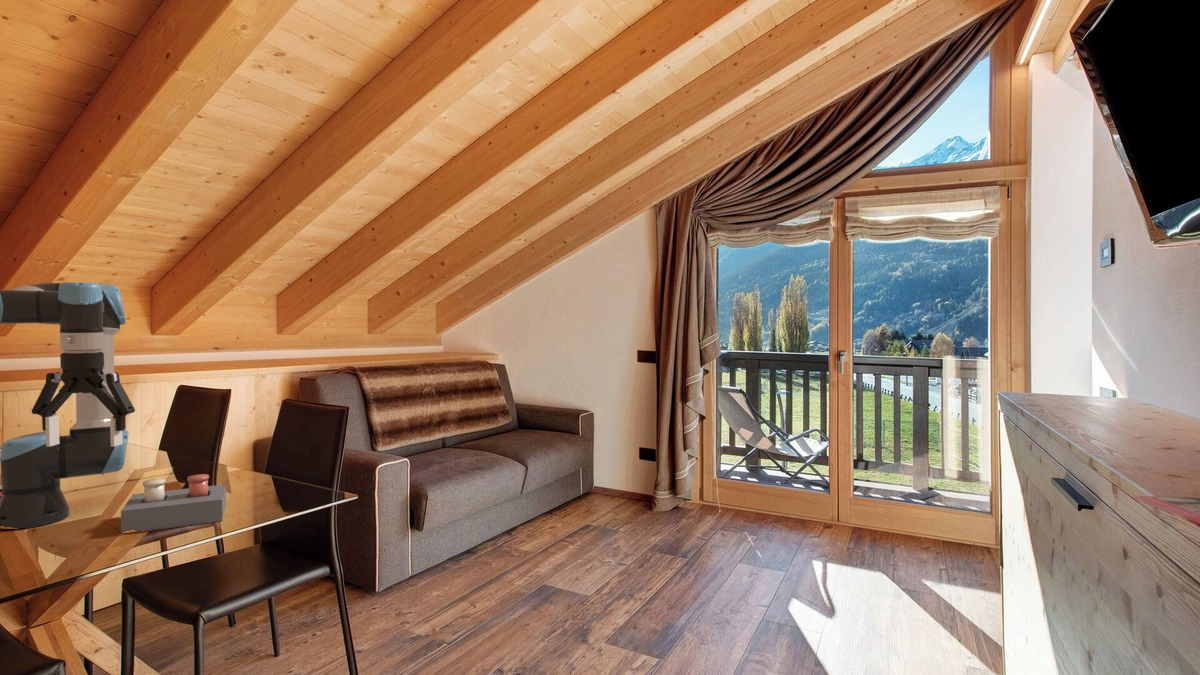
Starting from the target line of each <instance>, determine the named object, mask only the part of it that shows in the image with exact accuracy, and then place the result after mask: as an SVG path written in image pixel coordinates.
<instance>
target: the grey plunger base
mask: <svg viewBox="0 0 1200 675" xmlns="http://www.w3.org/2000/svg"><path fill="white" fill-rule="evenodd" d="M164 492H165V501H158V502H149V503H145V498H144V492H143V493H133V494H132V495H131V496H130V497H129V499H128V500H127V502H126V503H125V504H124V506H123V508H122V509H121V510H120V533H123V532H126V531H130V530H135V531H137V532H136V533H140V532H139V531H142V530H149V531H148V532H150V531H157V530H158V531H159V530H165V529H166V530H167V529H172V528H182V527H187V526H195V525H196V526H197V525H204V524H205V525H206V524H211V523H220V522H223V520H224V516H225V510H226V505H227V499H226V496H227V495H226V494H227V493H226V492H227V489H226V484H217V485H208V496H203V497H194V498H189V488H188V489H182V488H181V489H171V490H164Z"/></svg>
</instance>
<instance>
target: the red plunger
mask: <svg viewBox="0 0 1200 675" xmlns="http://www.w3.org/2000/svg"><path fill="white" fill-rule="evenodd" d="M187 480H188V482H189V498H194V497H203V496H208V486H209V485H208V480H210V475H209V474H206V473H205V474H204V473H202V474H193V475H189V476H187Z"/></svg>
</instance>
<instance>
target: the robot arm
mask: <svg viewBox="0 0 1200 675" xmlns="http://www.w3.org/2000/svg"><path fill="white" fill-rule="evenodd" d="M126 323H127V321H126V314H125V308H124V302H123V298H122V293H121V290H120V288H119V287H118V286H117V285H114V284H105V283H99V282H98V283H97V282H79V281H78V282H77V281H76V282H75V281H63V282H43V283H42V282H41V283H35V284H28V285H22V286H17V287H15V288H13V289H0V324H1V325H3V324H5V325H8V324H9V325H10V324H11V325H12V324H14V325H15V324H45V325H59V348H60V350H61V351H63V352H61V353H60V354H59V359H60V362H59V363H60V369H61V370H62V373H61V372H59V371H56V372H48V373H46V374H45V375H46V376H45V383H44V386H43V387H42V389H41V391H40V393H39V395H38V398H37V399H36V401H35V402H34V405H33V407H32V409H31V414H32V415H39V416H40V417H41V419H42V420H41V424H42V426H41V427H42V428H41V429H42V430H43V431H39V432H33V433H27V434H24V435H19V436H15V437H12V438H10V439H7V440H6V441H4V442H3V443H2V444H1V445H0V474H1V476H0V477H1V479H0V480H1V497H0V526H4V527H11V528H12V527H13V528H25V529H30V528H37V527H42V526H46V525H50V524H53V523H56V522H60V521H62V520H64V519H66V518H68V517H69V516H70V505H69V504H68V500H67V499H66V497H65V495H64V493H63V491H62V488H61V480H63V479H71V478H80V477H86V476H96V475H101V476H103V475H105V474H110V473H117V472H120V471H121V470H122V469H123V468H124V466H125V458H126V453H127V452H126V451H127V447H128V438H129V430H126V428H127V426H126V416H127V415H129V414H133V413H135V412H136V409H135V407H134V405H133V403H132V401H131V399H130V398H129V396H128V394H127V393H126V390H125V389H124V386H123V385H122V383H121V380H120V375H119V372H115V344H114V343H115V340H114V339H115V338H114V337H115V336H116V335H117V334H118V333H119V332H121V326H123V325H126ZM61 382H62V383H63V385H62V386H61V388H60V389H58V387H59V385H60V383H61ZM57 390H58V393H57V394H56V395H55V393H56V391H57ZM73 394H75V407H76V409H75V412H76V413H75V414H76V415H75V416H76V418H75V419H76V420H75V421H76V422H75V423H74V424H73V425H72V426H70V427H69V435H62V436H61V435H60V418H59V417H60V416H59V415H57V411H58V410H59V409H60V408H61V407H62V406H63V405H64V403H65V402H67V400H68V399H69V398H70V397H71V396H72V395H73Z"/></svg>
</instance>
